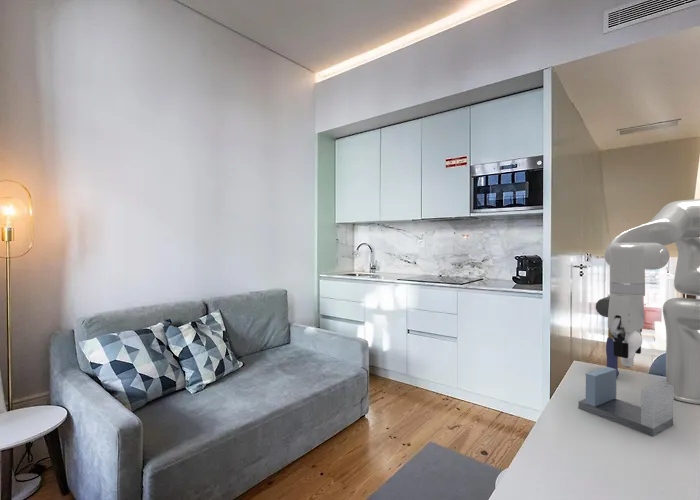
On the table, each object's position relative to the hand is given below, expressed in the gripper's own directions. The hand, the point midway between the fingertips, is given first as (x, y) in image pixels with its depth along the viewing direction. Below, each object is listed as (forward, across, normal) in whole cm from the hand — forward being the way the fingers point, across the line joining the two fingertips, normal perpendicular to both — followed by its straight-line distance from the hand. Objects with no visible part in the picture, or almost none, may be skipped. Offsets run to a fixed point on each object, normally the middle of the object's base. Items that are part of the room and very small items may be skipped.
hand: (627, 354), depth 97 cm
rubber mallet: (+20, -34, -19) cm, 43 cm away
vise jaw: (+17, -3, -8) cm, 19 cm away
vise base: (+19, -3, -2) cm, 19 cm away
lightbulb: (+4, 0, 0) cm, 4 cm away
